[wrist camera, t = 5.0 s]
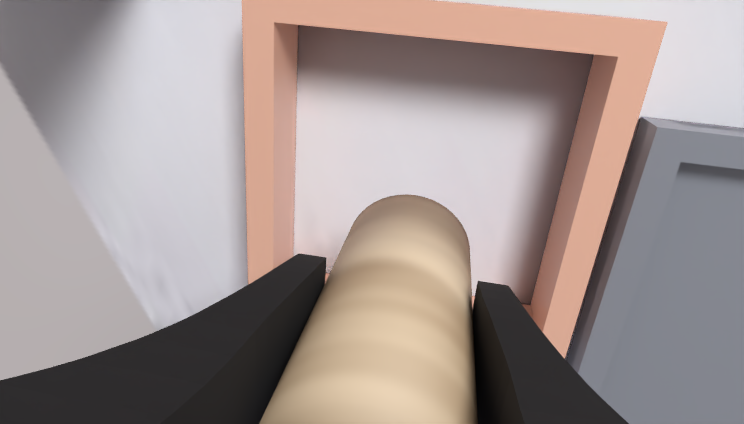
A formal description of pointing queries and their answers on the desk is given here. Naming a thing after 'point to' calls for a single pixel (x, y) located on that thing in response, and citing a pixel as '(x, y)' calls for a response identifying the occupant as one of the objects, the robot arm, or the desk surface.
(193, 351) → the robot arm
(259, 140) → the salmon square tray
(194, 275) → the desk surface
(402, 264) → the dowel pin
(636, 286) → the grey tray
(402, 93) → the desk surface
